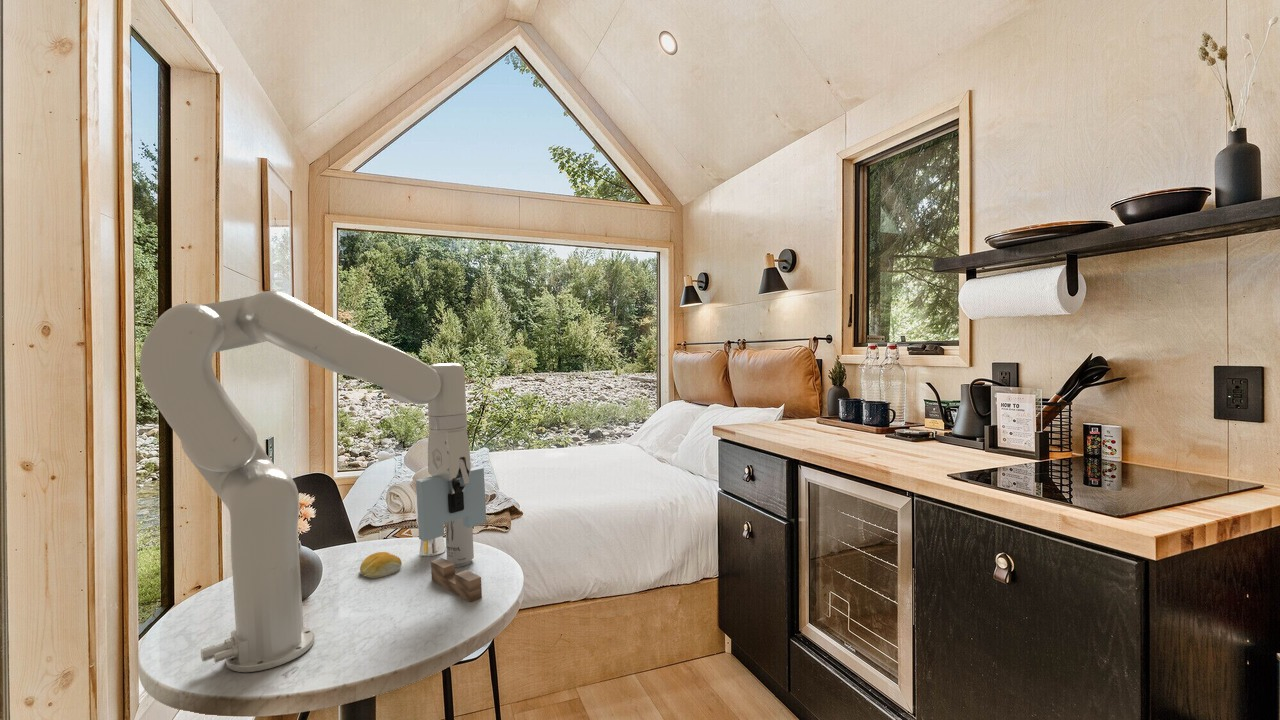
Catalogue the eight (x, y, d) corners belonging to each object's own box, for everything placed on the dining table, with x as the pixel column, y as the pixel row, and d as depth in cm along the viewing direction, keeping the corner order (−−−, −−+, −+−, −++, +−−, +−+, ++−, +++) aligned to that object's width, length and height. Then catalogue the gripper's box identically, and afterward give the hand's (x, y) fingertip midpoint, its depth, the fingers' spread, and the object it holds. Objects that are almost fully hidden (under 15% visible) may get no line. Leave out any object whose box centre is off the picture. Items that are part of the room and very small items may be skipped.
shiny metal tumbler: (428, 559, 136) (424, 497, 136) (411, 553, 141) (408, 493, 140) (453, 550, 142) (450, 490, 141) (436, 544, 146) (434, 487, 146)
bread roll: (388, 561, 137) (387, 544, 137) (407, 570, 131) (406, 552, 131) (352, 572, 131) (352, 555, 131) (371, 582, 125) (370, 564, 125)
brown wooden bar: (481, 597, 115) (481, 576, 115) (470, 602, 113) (469, 581, 113) (442, 576, 126) (442, 557, 126) (431, 580, 124) (430, 561, 124)
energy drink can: (441, 564, 133) (438, 500, 133) (463, 555, 138) (460, 494, 138) (457, 569, 130) (454, 504, 129) (479, 561, 134) (476, 498, 134)
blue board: (424, 541, 114) (421, 481, 113) (419, 538, 115) (415, 479, 115) (486, 522, 124) (483, 467, 123) (480, 520, 125) (477, 466, 125)
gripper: (412, 422, 121) (417, 507, 122) (450, 428, 110) (455, 522, 111) (445, 417, 127) (450, 499, 128) (485, 423, 116) (489, 512, 117)
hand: (452, 509), depth 119 cm, fingers closed on blue board, 2 cm apart
